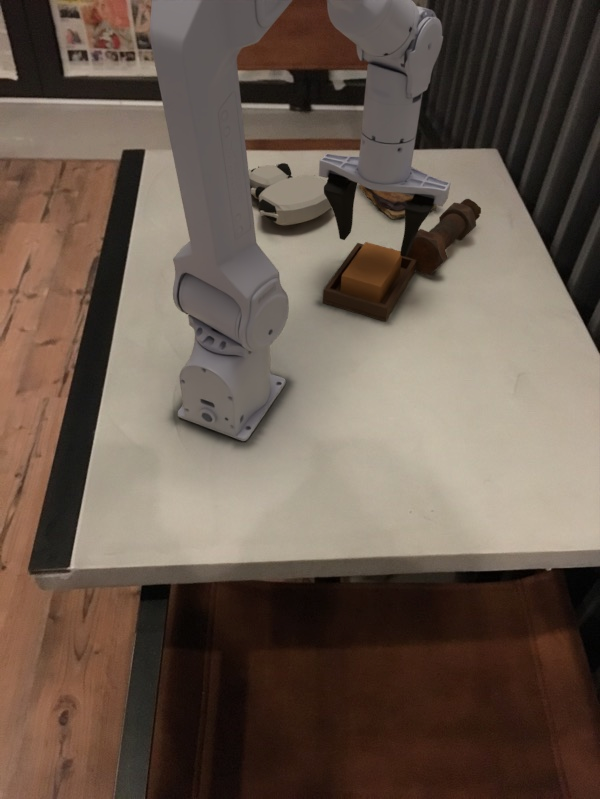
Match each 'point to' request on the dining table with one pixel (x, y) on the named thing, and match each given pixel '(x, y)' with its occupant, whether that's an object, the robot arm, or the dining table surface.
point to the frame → (364, 305)
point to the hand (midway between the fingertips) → (375, 243)
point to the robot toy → (287, 194)
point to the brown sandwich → (390, 201)
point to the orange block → (371, 272)
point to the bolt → (443, 235)
